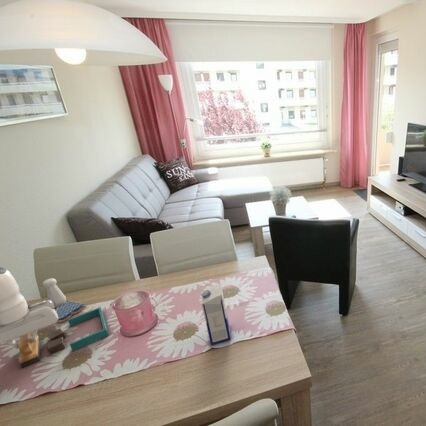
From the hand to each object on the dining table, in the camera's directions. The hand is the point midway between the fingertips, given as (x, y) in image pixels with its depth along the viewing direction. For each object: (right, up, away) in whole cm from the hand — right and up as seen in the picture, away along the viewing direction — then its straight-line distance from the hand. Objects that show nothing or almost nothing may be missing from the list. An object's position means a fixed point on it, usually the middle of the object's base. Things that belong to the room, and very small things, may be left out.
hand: (26, 344), depth 102 cm
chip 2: (+7, -3, +4) cm, 9 cm away
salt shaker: (-13, +5, +27) cm, 30 cm away
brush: (0, -4, +2) cm, 4 cm away
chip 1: (+3, -2, +8) cm, 9 cm away
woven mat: (-5, +3, +22) cm, 23 cm away
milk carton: (+66, 0, +6) cm, 66 cm away
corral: (+12, 0, +11) cm, 17 cm away
